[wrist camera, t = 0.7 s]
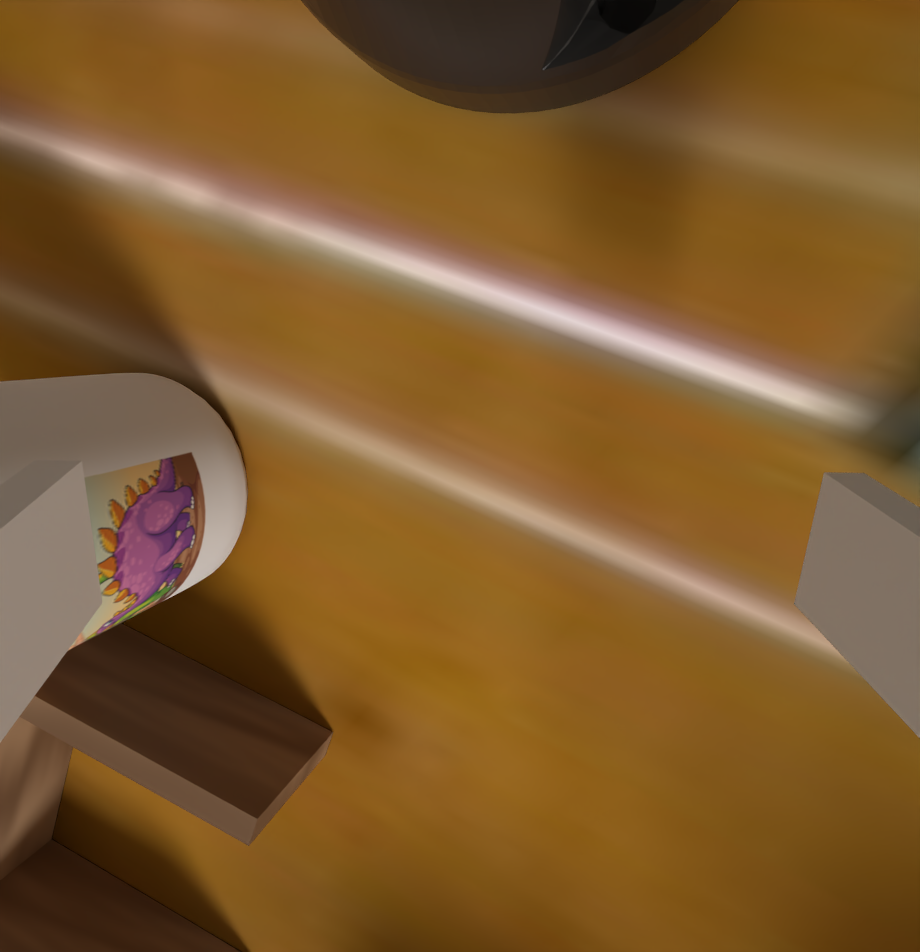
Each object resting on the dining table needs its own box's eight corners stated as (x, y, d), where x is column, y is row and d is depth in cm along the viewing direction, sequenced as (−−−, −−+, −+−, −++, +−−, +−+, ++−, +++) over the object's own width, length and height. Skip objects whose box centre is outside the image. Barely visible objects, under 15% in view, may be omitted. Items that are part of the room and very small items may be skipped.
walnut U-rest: (81, 602, 29) (-37, 656, 24) (332, 732, 26) (257, 818, 22) (28, 846, 32) (-86, 935, 27) (248, 979, 30) (166, 1101, 25)
